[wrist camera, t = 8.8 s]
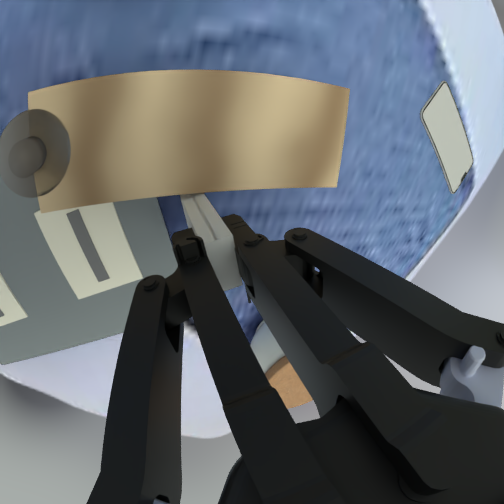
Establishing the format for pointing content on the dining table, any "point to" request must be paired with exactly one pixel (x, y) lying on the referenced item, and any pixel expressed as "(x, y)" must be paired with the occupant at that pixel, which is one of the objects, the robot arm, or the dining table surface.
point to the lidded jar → (278, 368)
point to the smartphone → (447, 135)
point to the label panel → (73, 270)
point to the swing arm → (173, 136)
